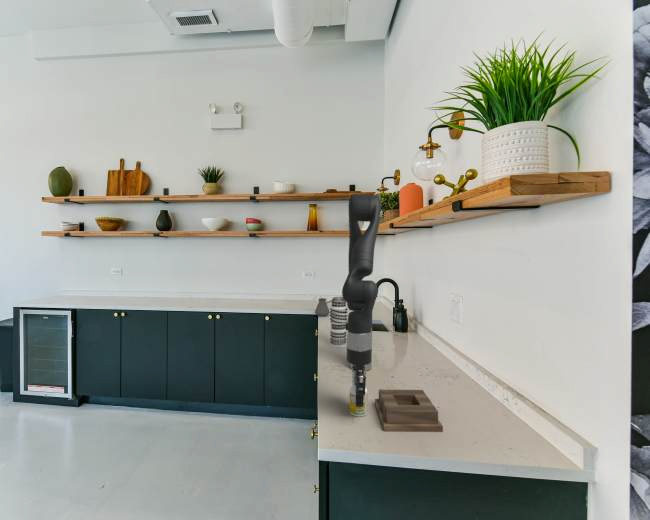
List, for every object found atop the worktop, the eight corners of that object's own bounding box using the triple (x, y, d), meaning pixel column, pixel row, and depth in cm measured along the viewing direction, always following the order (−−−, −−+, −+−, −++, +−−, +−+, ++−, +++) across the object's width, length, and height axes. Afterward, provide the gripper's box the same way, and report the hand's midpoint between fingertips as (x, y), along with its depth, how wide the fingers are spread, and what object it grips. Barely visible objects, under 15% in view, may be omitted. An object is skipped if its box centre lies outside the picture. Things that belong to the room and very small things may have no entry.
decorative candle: (346, 347, 163) (346, 299, 162) (328, 346, 164) (328, 298, 164) (347, 342, 172) (348, 296, 171) (330, 342, 173) (331, 296, 173)
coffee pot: (313, 316, 240) (313, 297, 240) (315, 313, 252) (316, 295, 251) (342, 317, 238) (342, 297, 238) (342, 314, 249) (343, 295, 249)
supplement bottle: (355, 406, 101) (356, 376, 101) (370, 412, 98) (371, 380, 97) (345, 413, 97) (346, 381, 97) (360, 419, 93) (361, 386, 93)
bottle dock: (374, 403, 103) (375, 388, 103) (424, 403, 103) (424, 388, 103) (384, 431, 87) (384, 413, 87) (442, 431, 87) (443, 413, 87)
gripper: (345, 339, 104) (344, 391, 104) (348, 353, 89) (347, 413, 90) (368, 339, 104) (367, 391, 104) (375, 353, 89) (374, 413, 90)
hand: (358, 401), depth 97 cm, fingers closed on supplement bottle, 5 cm apart
